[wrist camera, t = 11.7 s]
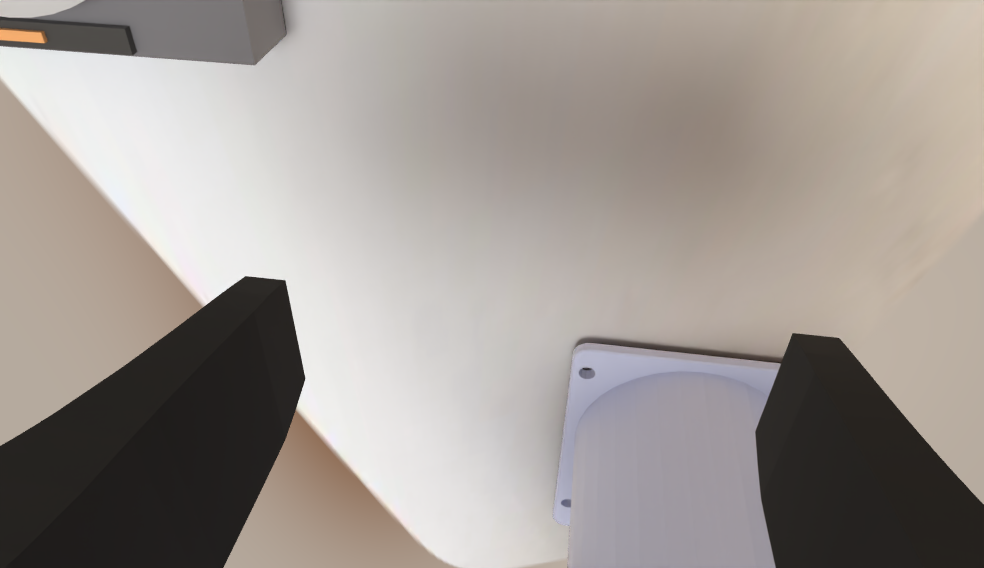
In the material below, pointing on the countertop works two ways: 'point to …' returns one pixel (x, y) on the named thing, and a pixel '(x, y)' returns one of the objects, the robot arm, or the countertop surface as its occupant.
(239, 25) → the kitchen scale
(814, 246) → the countertop surface
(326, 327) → the countertop surface
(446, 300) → the countertop surface
